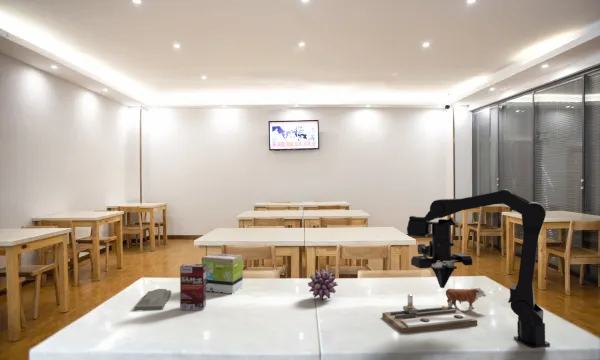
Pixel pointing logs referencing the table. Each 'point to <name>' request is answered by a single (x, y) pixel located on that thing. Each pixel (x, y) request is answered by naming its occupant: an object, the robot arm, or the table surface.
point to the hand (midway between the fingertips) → (442, 287)
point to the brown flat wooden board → (429, 319)
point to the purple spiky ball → (322, 284)
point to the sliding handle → (410, 305)
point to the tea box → (223, 272)
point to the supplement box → (192, 286)
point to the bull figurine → (464, 296)
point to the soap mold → (154, 300)
